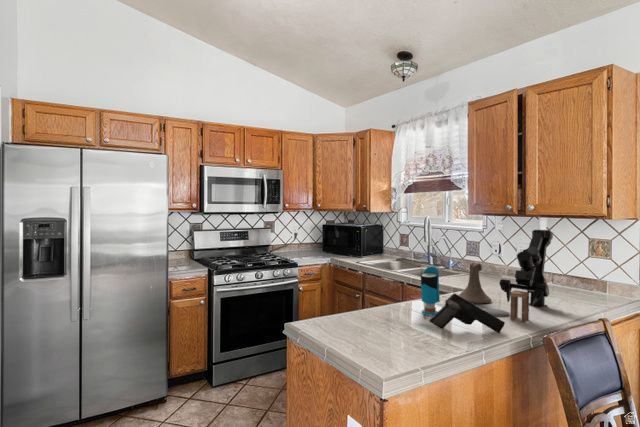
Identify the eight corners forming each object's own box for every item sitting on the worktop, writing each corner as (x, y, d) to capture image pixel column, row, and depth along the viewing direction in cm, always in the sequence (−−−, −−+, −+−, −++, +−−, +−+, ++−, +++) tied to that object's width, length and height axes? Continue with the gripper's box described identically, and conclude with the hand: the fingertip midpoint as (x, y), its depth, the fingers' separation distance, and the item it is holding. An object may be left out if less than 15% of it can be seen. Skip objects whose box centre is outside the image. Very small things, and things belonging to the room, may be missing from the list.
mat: (494, 309, 179) (494, 307, 179) (515, 315, 169) (515, 313, 169) (478, 311, 175) (478, 310, 175) (498, 318, 165) (498, 316, 165)
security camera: (416, 267, 170) (427, 265, 178) (416, 313, 171) (426, 309, 178) (434, 269, 165) (444, 267, 172) (433, 317, 165) (443, 312, 172)
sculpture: (497, 301, 194) (498, 263, 194) (478, 306, 184) (479, 266, 184) (468, 295, 208) (469, 259, 207) (449, 299, 198) (450, 261, 198)
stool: (514, 316, 167) (514, 290, 166) (528, 319, 163) (529, 292, 162) (510, 319, 162) (510, 292, 162) (525, 322, 158) (525, 294, 158)
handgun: (485, 355, 146) (505, 323, 145) (429, 321, 150) (449, 290, 149) (483, 352, 149) (503, 321, 147) (429, 320, 153) (448, 289, 151)
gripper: (501, 261, 172) (492, 288, 164) (547, 266, 159) (541, 296, 151) (505, 276, 178) (498, 303, 170) (551, 281, 165) (544, 311, 157)
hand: (519, 303), depth 162 cm, fingers open, 9 cm apart
